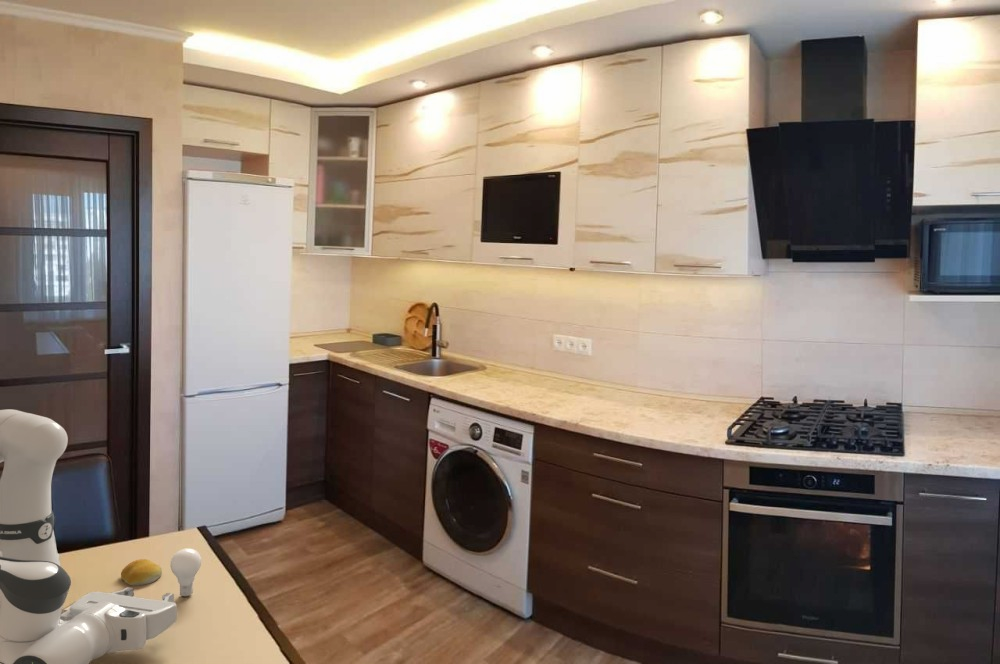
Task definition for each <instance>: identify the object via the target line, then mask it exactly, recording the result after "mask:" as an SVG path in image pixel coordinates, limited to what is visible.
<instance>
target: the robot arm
mask: <svg viewBox="0 0 1000 664" xmlns="http://www.w3.org/2000/svg"><path fill="white" fill-rule="evenodd" d="M68 437H69V436H68V434H67V431H66V430H65V428H64V427H63V426H61V424H59V423H57V422H56V421H54V420H53V419H52V418H49V417H46V416H42V415H38V414H34V413H30V412H25V411H21V410H19V409H12V408H11V409H8V408H7V409H0V463H2V462H4V464H3V470H2V474H1V476H0V664H90V663H91V662H92V661H94V660H96V659H99V658H100V657H103V655H105V654H112V653H116V652H122V651H123V652H124V651H136V650H137V651H138V650H141V649H143V648H144V647H145V646H146V644H147V640H148V641H149V640H152V639H155V638H156V637H158V636H159V635H161V634H162V633H164V632H165V631H167V630H168V629H169V628H171V626H173V625H174V624H175V623H176V622H177V618H178V606H177V603H176V602H174V601H175V594H174V593H171V592H165V593H164V594H163V595H162V596H161V599H160V600H159V599H152V598H146V597H145V598H143V597H138V596H134V595H135V592H134V591H135V589H134V588H133V587H128V586H127V587H125V588H123V589H122V590H118V591H113V592H111V593H110V592H102V591H97V590H96V591H91V592H88V593H86V594H85V595H83V596H81V597H80V598H78V599H77V600H75V601H74V602H75V603H74V602H73V603H74V604H72V603H71V604H72V605H71V604H70V605H71V607H70V610H68V611H66V612H64V613H63V614H61V612H62V609H64V608H63V607H64V604H65V602H66V599H67V596H68V593H69V591H70V588H71V586H72V585H71V584H72V580H71V577H70V575H69V574H68V572H67V571H66V570H65V569H64V568H63V567H62V565H61V564H62V563H61V562H60V559H61V557H60V553H58V550H57V542H56V537H55V531H54V527H55V516H54V511H53V510H52V478H53V473H54V470H55V467H56V463H57V461H58V459H59V458H60V457H61V456H63V454H64V453H65V451H66V449H67V447H68V441H69V438H68Z"/></svg>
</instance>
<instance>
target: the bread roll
mask: <svg viewBox="0 0 1000 664" xmlns="http://www.w3.org/2000/svg"><path fill="white" fill-rule="evenodd" d="M162 573H163V569H162V567H161V566H160V565H158V564H156V563H155V562H154V561H153V560H150V559H145V558H141V559H136V560H133V561H131V562H130V563H128V564H127V565H126V566H124V568H122V570H121V573H120V577H121V579H122V581H124V582H125V583H127V585H129V586H131V587H132V586H136V587H137V586H144V585H148V584H152V583H154V582H155V581H157V580H158V579H160V577H161V576H162Z"/></svg>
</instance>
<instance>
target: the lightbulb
mask: <svg viewBox="0 0 1000 664" xmlns="http://www.w3.org/2000/svg"><path fill="white" fill-rule="evenodd" d="M201 566H202V557H201V554H200V553H199V552H198V550H196V549H194V548H190V547H189V548H187V547H185V548H182V549H180V550H178V551H177V552H175V554H174V555H173V556H172V557H171V560H170V570H171V572H172V573H173V575H174V576H175V577H176V579H177V582H178V585H179V596H182V597H184V598H186V597H189V596H191V595H192V594H193V592H194V591H193V590H194V587H193V585H194V584H193V583H194V581H195V578H196V575H197V573H198V571H200V568H201Z"/></svg>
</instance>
